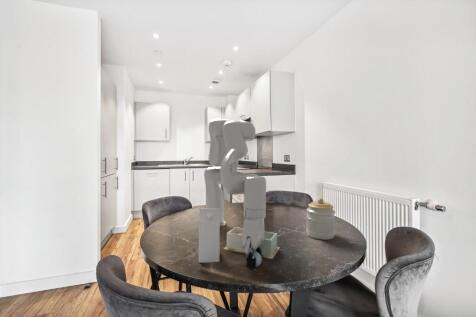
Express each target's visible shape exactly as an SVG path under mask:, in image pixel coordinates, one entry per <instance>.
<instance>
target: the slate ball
mask: <svg viewBox="0 0 476 317" xmlns="http://www.w3.org/2000/svg"><path fill="white" fill-rule="evenodd" d="M252 254H253V252H252ZM255 258H256V267H259V266H260V265H261V264H262V262H263V261H262V260H263V259H262V258H263V257H262V258H261V255H260V254H259V253H258V252H255Z"/></svg>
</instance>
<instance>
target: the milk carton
mask: <svg viewBox="0 0 476 317" xmlns="http://www.w3.org/2000/svg"><path fill="white" fill-rule="evenodd" d="M198 215H199V216H198V263H199V264H198V266H201V264H200V263H219V262H220V238H221V236H220V227H221V226H220V208H206V207H205V208H203V207H202V208H201V207H200V208H199V214H198Z"/></svg>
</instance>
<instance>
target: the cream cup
mask: <svg viewBox="0 0 476 317" xmlns="http://www.w3.org/2000/svg"><path fill="white" fill-rule="evenodd" d="M242 232H243V227H239V226H235V227H233V228H232V229H230V230H229V231H227V232H226V246H227V248H230V249H235V250H240V251H245V248H243V247H242V235H240V234H239V233H241V234H242Z"/></svg>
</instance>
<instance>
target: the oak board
mask: <svg viewBox="0 0 476 317" xmlns="http://www.w3.org/2000/svg"><path fill="white" fill-rule="evenodd" d="M280 248H281V247H280V246H277V249H276V250H275V252H274V253H273V255H272V256H271V257H270V256H265V255H262V258H266V259H270V260H272V259H274V257H275V256H276V254H277V253H278V251H279V250H280ZM222 249H223V250H227V251H231V252H235V253H242V254H245V253H244V251H240V250H235V249H230V248H227V245H225V247H223V248H222Z"/></svg>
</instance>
